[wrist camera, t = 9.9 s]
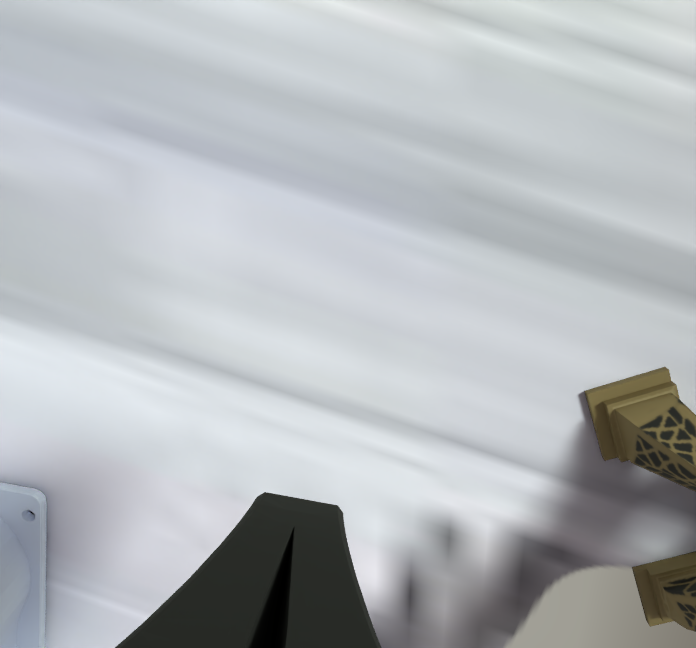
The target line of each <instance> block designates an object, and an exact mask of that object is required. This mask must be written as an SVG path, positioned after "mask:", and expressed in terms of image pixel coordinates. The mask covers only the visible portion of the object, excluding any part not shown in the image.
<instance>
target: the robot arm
mask: <svg viewBox="0 0 696 648" xmlns="http://www.w3.org/2000/svg"><path fill="white" fill-rule="evenodd" d="M29 510H30V511H32V512H33V513H34V514H35V515H33V514H31V513H30V512H29ZM46 520H47V501H46V497H45V495H44V494H43V493H42V492H41V491H39V490H37V489H34V488H29V487H24V486H18V485H13V484H7V483H2V482H0V648H45V621H46ZM115 648H381V646H380V643H379V641H378V638H377V636H376V633H375V630H374V628H373V625H372V622H371V619H370V617H369V614H368V611H367V608H366V605H365V602H364V599H363V596H362V593H361V590H360V587H359V584H358V580H357V577H356V574H355V570H354V567H353V563H352V559H351V555H350V551H349V547H348V543H347V538H346V533H345V527H344V520H343V512H342V511H341V509H340V508H339V507H338V506H337V505H332V504H326V503H321V502H315V501H310V500H304V499H299V498H293V497H288V496H282V495H277V494H272V493H266V492H265V493H263V494H261V495H260V496H258V497H257V498H256V499H255V501H254V503H253V504H252V506H251V507H250V508H249V510H248V511H247V513H246V514H245V515H244V517H243V518H242V519H241V520H240V522H239V523H238V524H237V525H236V527H235V528H234V529H233V530H232V531H231V533H230V534H229V535H228V536H227V537H226V539H225V540H224V541H223V542H222V543H221V545H220V546H219V547H218V548H217V549H216V550H215V551H214V552H213V553H212V554H211V555H210V557H209V558H208V559H207V560H206V561H205V562H204V563H203V564H202V565H201V566H200V567H199V569H198V570H197V571H196V572H195V573H194V574H193V575H192V576H191V577H190V578H189V579H188V580H187V581H186V582H185V583H184V584H183V585H182V586H181V587H180V588H179V589H178V590H177V591H176V592H175V593H174V594H173V595H172V596H171V597H170V598H169V599H168V600H167V601H166V602H165V603H163V604H162V605H161V606H160V607H159V608H158V609H157V610H156V611H155V612H154V613H153V614H152V615H151V616H150V617H149V618H148V619H147V620H146V621H145V622H144V623H143V624H141V625H140V626H139V627H138V628H137V629H136V630H135V631H134V632H132V633H131V634H130V635H129V636H128V637H127V638H126V639H125V640H123V641H122V642H121V643H120V644H119V645H118V646H116V647H115Z"/></svg>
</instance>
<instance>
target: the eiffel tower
mask: <svg viewBox="0 0 696 648" xmlns="http://www.w3.org/2000/svg"><path fill="white" fill-rule="evenodd" d="M585 395H586V399H587V402H588V406H589V410H590V413H591V417H592V421H593V424H594V428H595V432H596V435H597V439H598V443H599V446H600V450H601V454H602V457H603V459H604V460H605V461H606V460H610V459H613V458H617V457H618V458H619V460H620V461H621V462H624V461H628V460H630V461H631V463H633V464H635V465H638V466H640V467H642V468H644V469H647V470H649V471H651V472H653V473H655V474H658V475H660V476H662V477H664V478H667V479H669V480H671V481H673V482H675V483H678V484H680V485H682V486H684V487H687V488H689V489H691V490H693V491H696V415H695V414H694V413H693V412H692V411H691V410H690V409H689V408H688V407H687V406H686V405H685V404H683V403H682V402H681V401H680V399H679V395H678V390H677V386H676V384H675V383H673V382H672V381H671V377H670V373H669V369H667V368H666V367H663V368H660V369H656V370H653V371H650V372H646V373H643V374H640V375H636V376H633V377H630V378H626V379H623V380H620V381H616V382H613V383H610V384H606V385H603V386H600V387H596V388H593V389H590V390H586V391H585ZM632 570H633V574H634V577H635V581H636V585H637V588H638V592H639V596H640V599H641V603H642V606H643V610H644V614H645V618H646V621H647V622H648V624H649V626H654V625H659V624H663V623H667V622H671V621H675V622H677V623H678V624H680V625H681V626H683V627H684V628H686V629H688V630H692V631H696V552H692V553H688V554H684V555H680V556H676V557H672V558H668V559H664V560H660V561H656V562H652V563H648V564H644V565H640V566H636V567H632Z"/></svg>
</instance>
